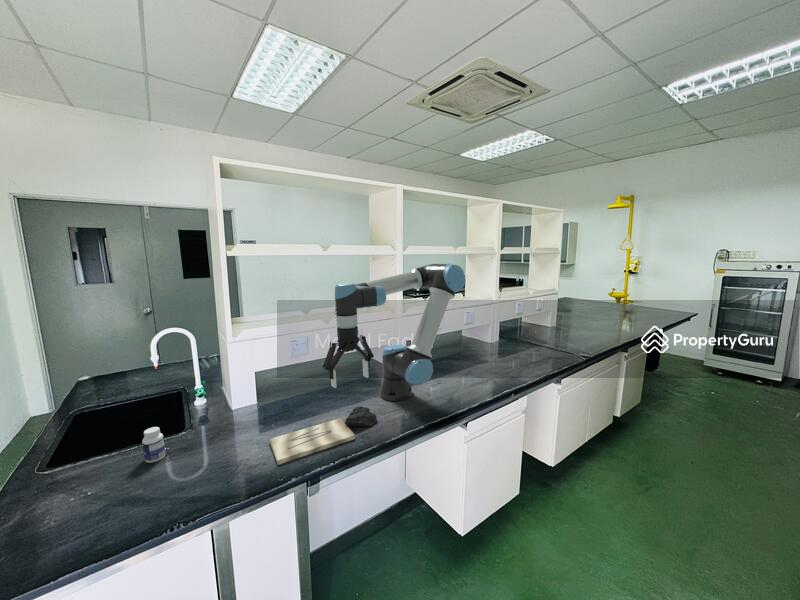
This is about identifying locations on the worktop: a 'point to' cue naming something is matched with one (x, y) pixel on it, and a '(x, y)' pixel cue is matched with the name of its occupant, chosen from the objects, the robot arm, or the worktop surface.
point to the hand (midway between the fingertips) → (350, 381)
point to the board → (310, 440)
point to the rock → (360, 417)
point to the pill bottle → (153, 445)
